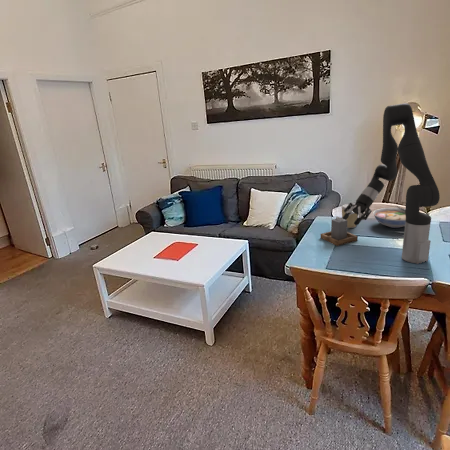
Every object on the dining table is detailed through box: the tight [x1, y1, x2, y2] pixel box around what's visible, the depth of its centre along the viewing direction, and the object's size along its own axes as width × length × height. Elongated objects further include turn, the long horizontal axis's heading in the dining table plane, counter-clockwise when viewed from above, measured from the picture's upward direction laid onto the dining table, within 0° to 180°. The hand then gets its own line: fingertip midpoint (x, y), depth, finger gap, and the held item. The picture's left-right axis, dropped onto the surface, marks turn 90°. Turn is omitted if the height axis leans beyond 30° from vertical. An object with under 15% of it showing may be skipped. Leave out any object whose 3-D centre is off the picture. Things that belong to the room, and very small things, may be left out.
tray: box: [320, 230, 359, 247], centre depth 168 cm, size 13×13×2 cm
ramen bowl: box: [372, 205, 406, 229], centre depth 179 cm, size 25×23×8 cm
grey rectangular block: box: [330, 216, 348, 240], centre depth 166 cm, size 6×6×11 cm
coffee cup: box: [341, 203, 359, 229], centre depth 184 cm, size 9×9×12 cm
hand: (349, 222), depth 168 cm, fingers open, 8 cm apart
